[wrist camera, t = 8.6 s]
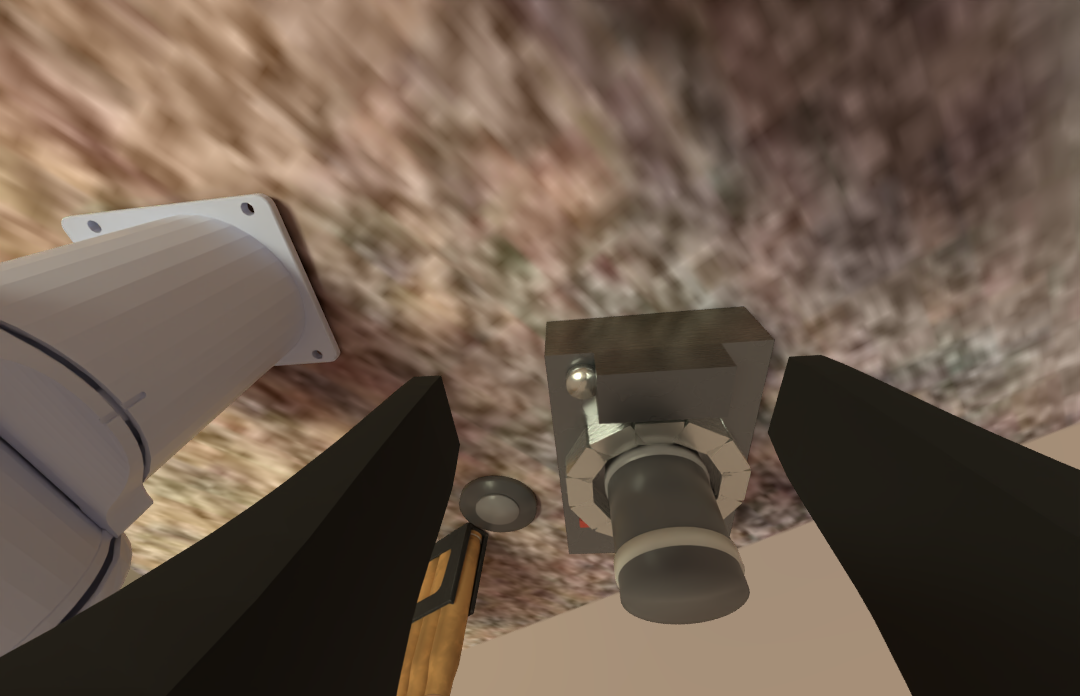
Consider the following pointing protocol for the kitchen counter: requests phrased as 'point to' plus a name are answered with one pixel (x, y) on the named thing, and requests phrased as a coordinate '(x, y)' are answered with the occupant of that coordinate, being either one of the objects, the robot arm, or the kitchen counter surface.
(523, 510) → the lens cap
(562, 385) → the camera body
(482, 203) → the kitchen counter surface
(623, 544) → the lens
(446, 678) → the ammunition clip
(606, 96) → the kitchen counter surface
